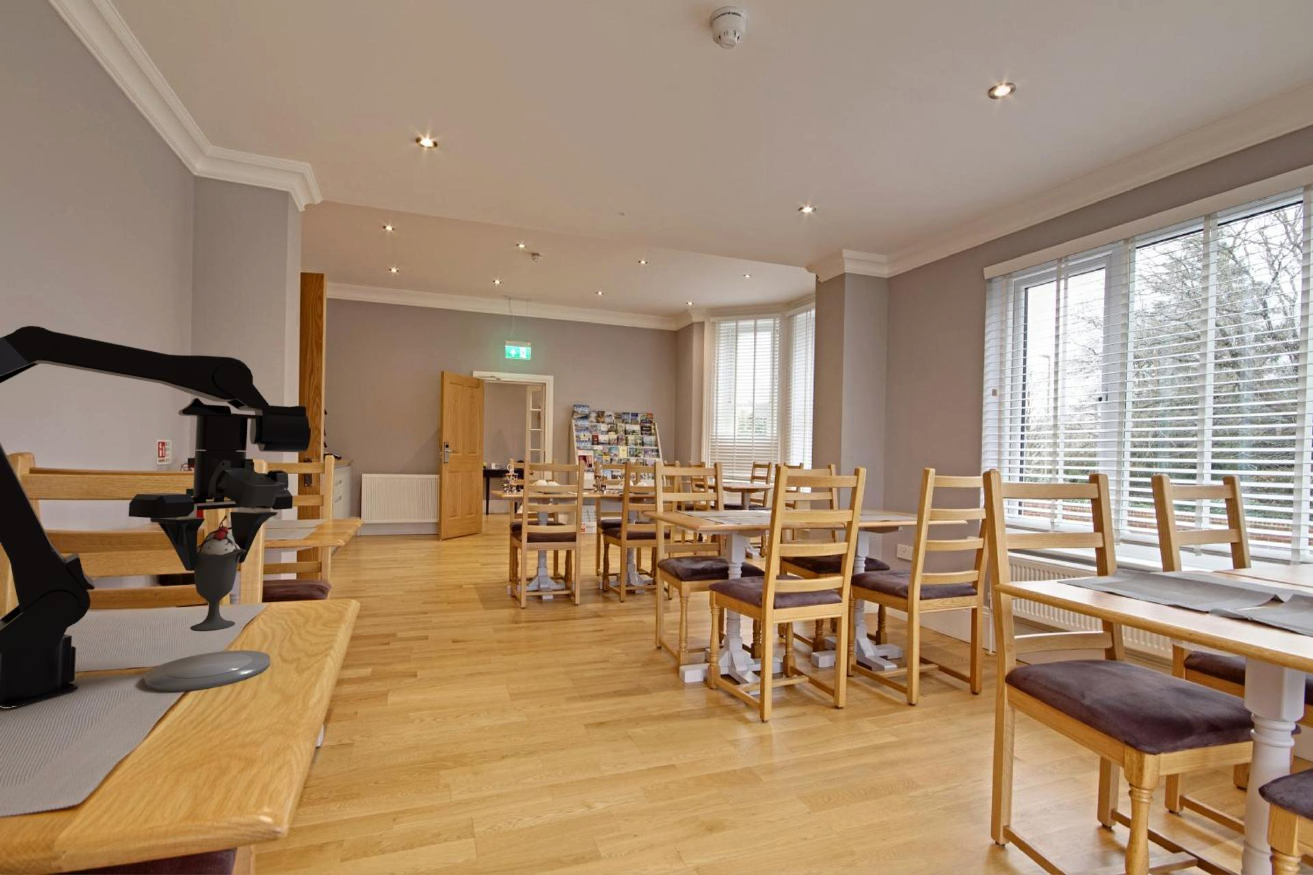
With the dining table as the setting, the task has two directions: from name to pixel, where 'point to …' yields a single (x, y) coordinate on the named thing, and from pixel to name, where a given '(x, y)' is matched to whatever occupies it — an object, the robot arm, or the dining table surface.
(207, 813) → the dining table surface
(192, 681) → the slate plate
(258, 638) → the dining table surface
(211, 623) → the sundae
